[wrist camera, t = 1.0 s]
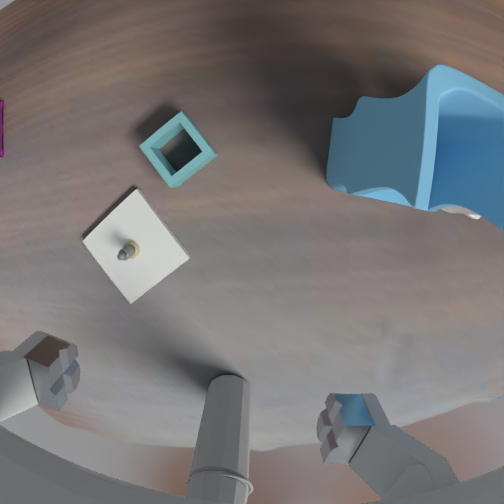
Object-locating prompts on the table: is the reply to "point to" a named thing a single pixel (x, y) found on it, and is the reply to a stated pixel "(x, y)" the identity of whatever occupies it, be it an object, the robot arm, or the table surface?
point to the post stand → (135, 246)
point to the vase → (425, 146)
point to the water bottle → (223, 444)
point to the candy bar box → (1, 129)
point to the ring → (167, 134)
